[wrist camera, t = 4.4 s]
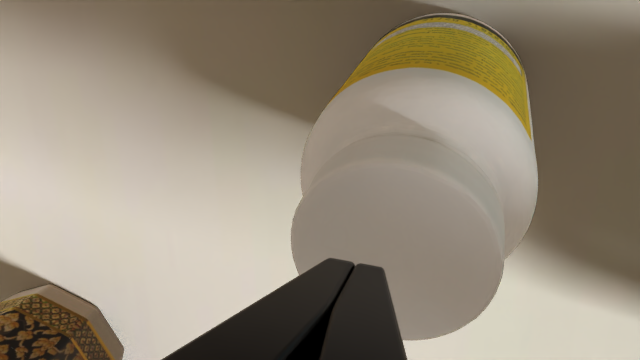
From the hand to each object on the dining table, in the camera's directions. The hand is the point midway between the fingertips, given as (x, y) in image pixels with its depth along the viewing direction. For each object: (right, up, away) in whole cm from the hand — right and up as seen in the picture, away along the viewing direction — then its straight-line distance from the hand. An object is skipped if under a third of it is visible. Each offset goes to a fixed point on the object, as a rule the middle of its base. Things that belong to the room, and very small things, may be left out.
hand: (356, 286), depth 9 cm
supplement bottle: (+3, +5, +11) cm, 12 cm away
